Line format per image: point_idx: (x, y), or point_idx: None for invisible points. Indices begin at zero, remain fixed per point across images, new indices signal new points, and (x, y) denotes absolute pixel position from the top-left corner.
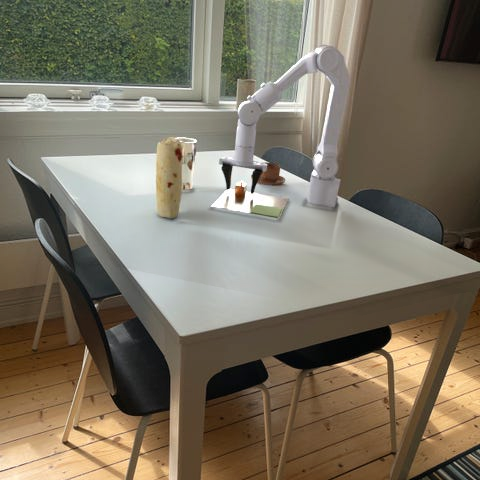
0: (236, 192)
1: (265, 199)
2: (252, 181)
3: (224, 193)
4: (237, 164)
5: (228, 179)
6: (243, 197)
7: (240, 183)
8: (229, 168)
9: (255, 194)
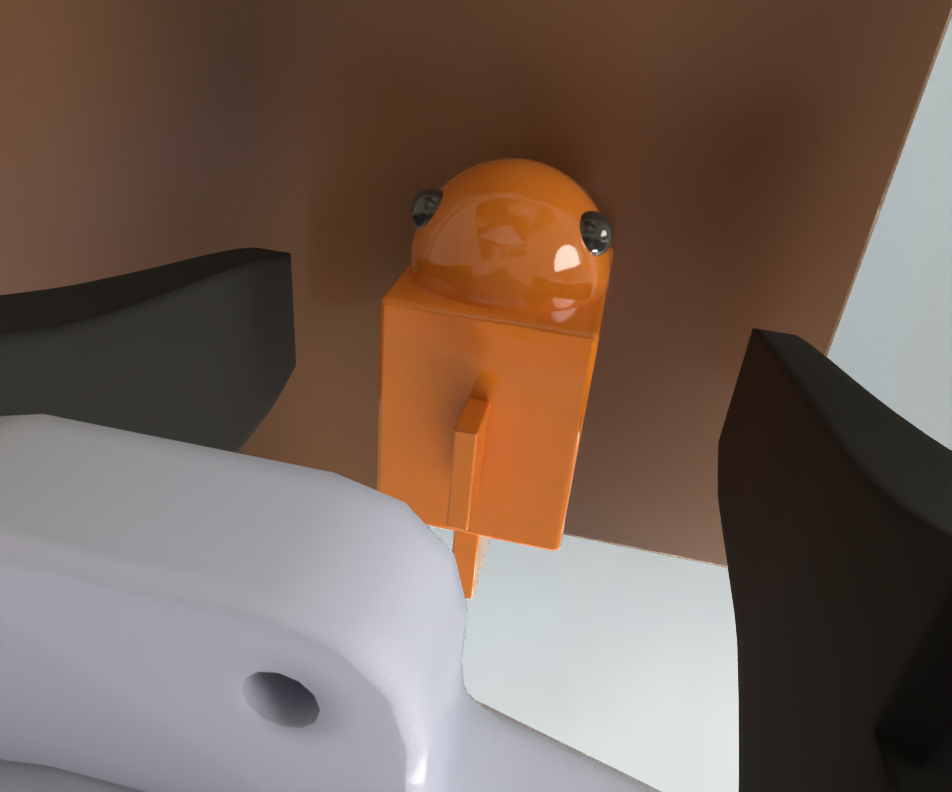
0: (566, 176)
1: (66, 214)
2: (108, 313)
3: (830, 273)
4: (410, 568)
5: (820, 418)
6: (428, 167)
7: (484, 413)
8: (898, 702)
9: (279, 410)
